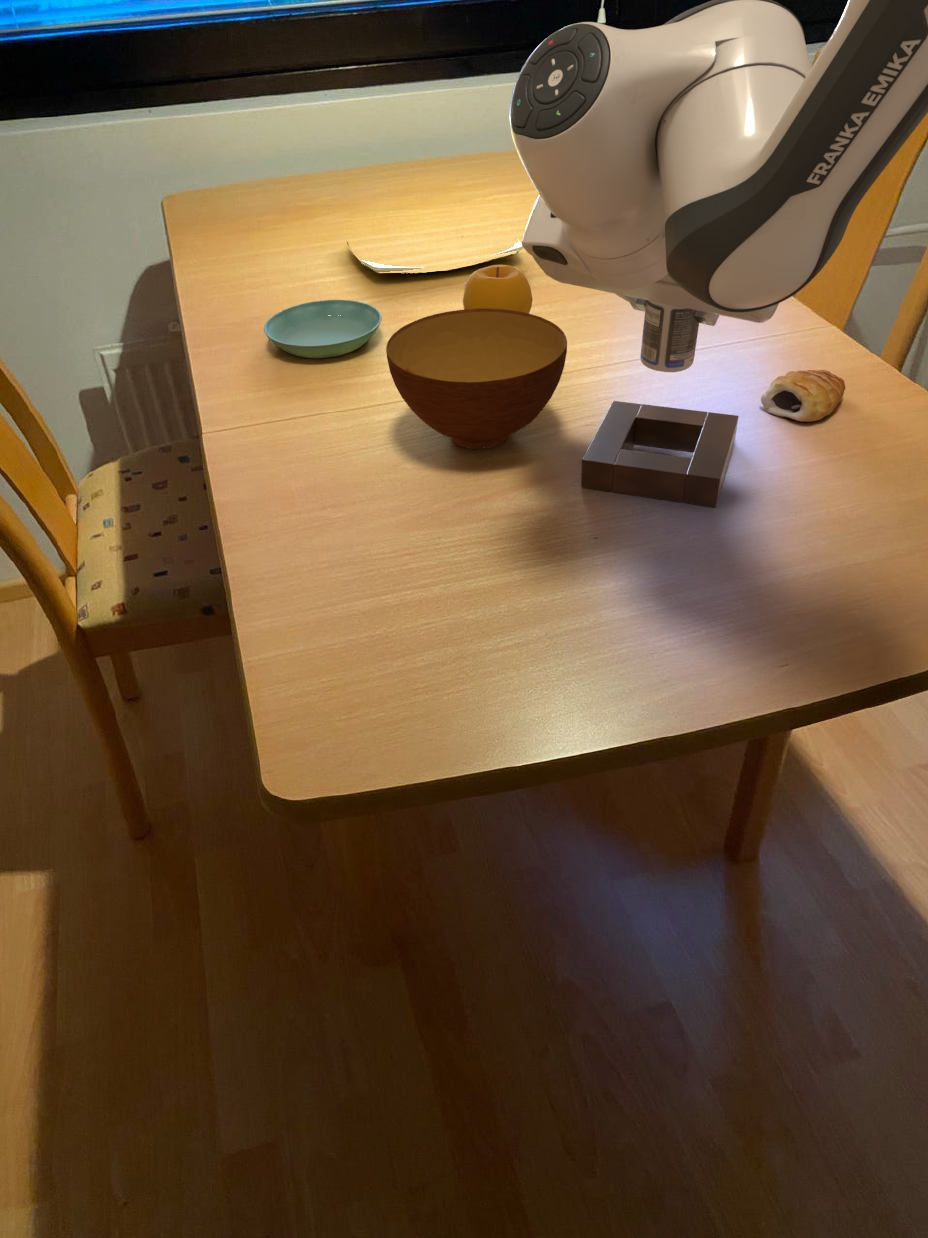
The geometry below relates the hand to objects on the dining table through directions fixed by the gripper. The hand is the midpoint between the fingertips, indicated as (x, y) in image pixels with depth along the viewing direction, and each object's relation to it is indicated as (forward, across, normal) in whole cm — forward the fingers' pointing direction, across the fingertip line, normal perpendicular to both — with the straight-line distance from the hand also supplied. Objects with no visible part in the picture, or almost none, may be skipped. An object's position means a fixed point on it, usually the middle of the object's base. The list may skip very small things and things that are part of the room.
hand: (677, 309), depth 81 cm
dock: (+11, 0, +11) cm, 15 cm away
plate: (+39, +59, -17) cm, 72 cm away
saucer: (+15, +50, +7) cm, 52 cm away
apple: (+23, +31, -1) cm, 39 cm away
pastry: (+24, -7, -2) cm, 25 cm away
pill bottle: (+3, 0, +4) cm, 5 cm away
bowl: (+8, +19, +14) cm, 25 cm away
